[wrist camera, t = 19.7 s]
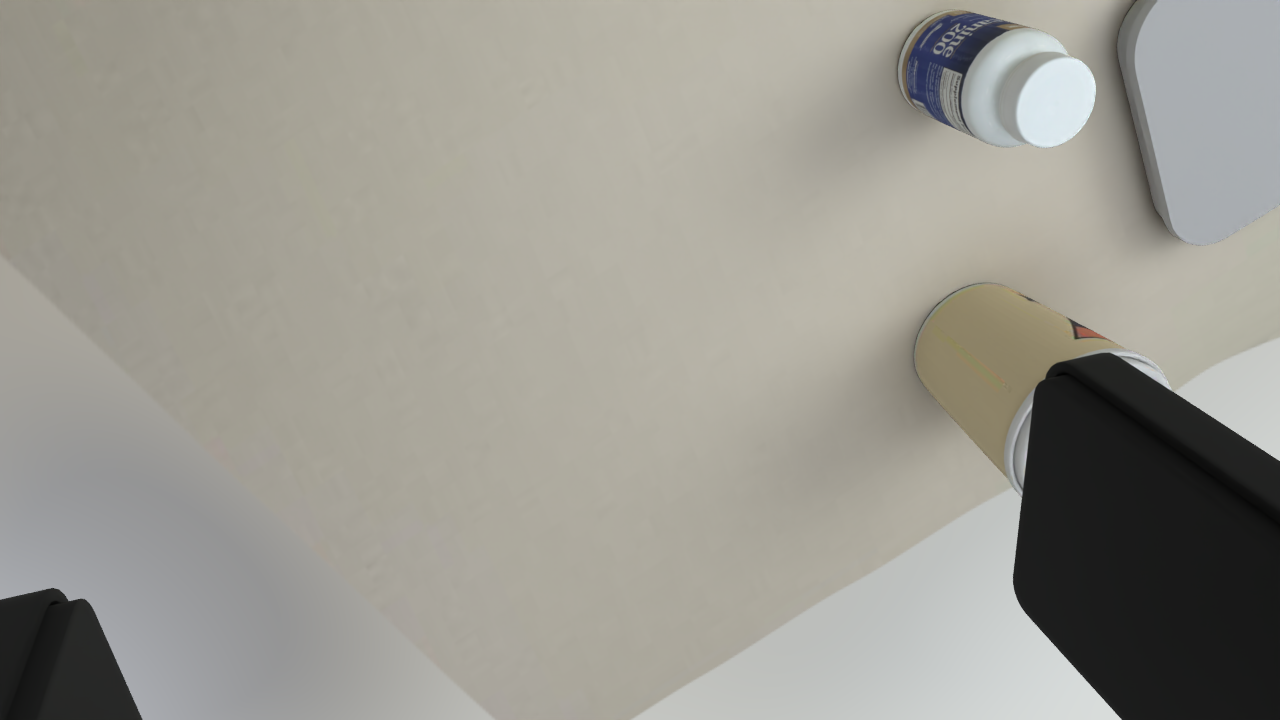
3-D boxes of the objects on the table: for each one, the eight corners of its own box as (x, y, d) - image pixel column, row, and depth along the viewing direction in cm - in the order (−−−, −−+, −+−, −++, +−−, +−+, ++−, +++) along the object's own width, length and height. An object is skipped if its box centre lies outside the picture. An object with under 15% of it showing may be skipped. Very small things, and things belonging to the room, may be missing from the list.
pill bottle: (982, -7, 52) (1109, 22, 43) (992, 94, 54) (1113, 139, 46) (886, 27, 51) (996, 63, 43) (901, 128, 54) (1007, 180, 45)
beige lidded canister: (1059, 349, 64) (1201, 448, 53) (935, 436, 64) (1052, 550, 54) (1009, 237, 59) (1153, 322, 48) (875, 332, 59) (991, 436, 49)
